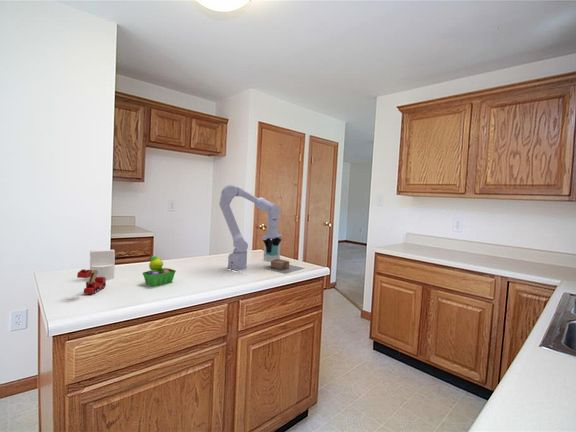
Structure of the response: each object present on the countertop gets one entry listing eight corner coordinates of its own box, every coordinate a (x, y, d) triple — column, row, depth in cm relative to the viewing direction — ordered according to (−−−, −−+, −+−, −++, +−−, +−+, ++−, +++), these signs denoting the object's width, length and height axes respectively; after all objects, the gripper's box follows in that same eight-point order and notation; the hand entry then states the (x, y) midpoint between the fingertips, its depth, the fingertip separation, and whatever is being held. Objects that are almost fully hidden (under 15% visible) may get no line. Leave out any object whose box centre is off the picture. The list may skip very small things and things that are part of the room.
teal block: (272, 255, 162) (272, 246, 162) (265, 254, 165) (266, 245, 164) (277, 254, 166) (277, 245, 165) (271, 253, 168) (271, 244, 168)
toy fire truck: (106, 287, 120) (107, 262, 119) (86, 298, 106) (87, 271, 106) (97, 286, 120) (98, 262, 119) (76, 298, 106) (76, 271, 106)
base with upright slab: (88, 281, 125) (88, 253, 124) (91, 276, 133) (91, 249, 132) (113, 280, 129) (114, 252, 129) (114, 274, 137) (115, 248, 137)
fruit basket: (152, 288, 121) (153, 260, 121) (139, 284, 126) (139, 257, 125) (176, 282, 131) (177, 256, 130) (163, 278, 136) (164, 253, 135)
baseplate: (285, 275, 151) (285, 273, 151) (263, 270, 159) (264, 268, 159) (305, 269, 165) (305, 268, 165) (285, 265, 174) (285, 263, 174)
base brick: (280, 270, 157) (281, 263, 157) (270, 268, 161) (270, 260, 161) (289, 268, 163) (289, 261, 162) (278, 266, 167) (279, 258, 166)
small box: (279, 262, 180) (280, 240, 179) (271, 263, 176) (272, 241, 175) (271, 259, 186) (272, 238, 185) (263, 260, 182) (264, 239, 181)
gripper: (269, 228, 156) (268, 254, 157) (286, 227, 168) (285, 251, 169) (259, 227, 160) (258, 252, 161) (276, 225, 172) (275, 249, 173)
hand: (271, 252), depth 165 cm, fingers closed on teal block, 4 cm apart
